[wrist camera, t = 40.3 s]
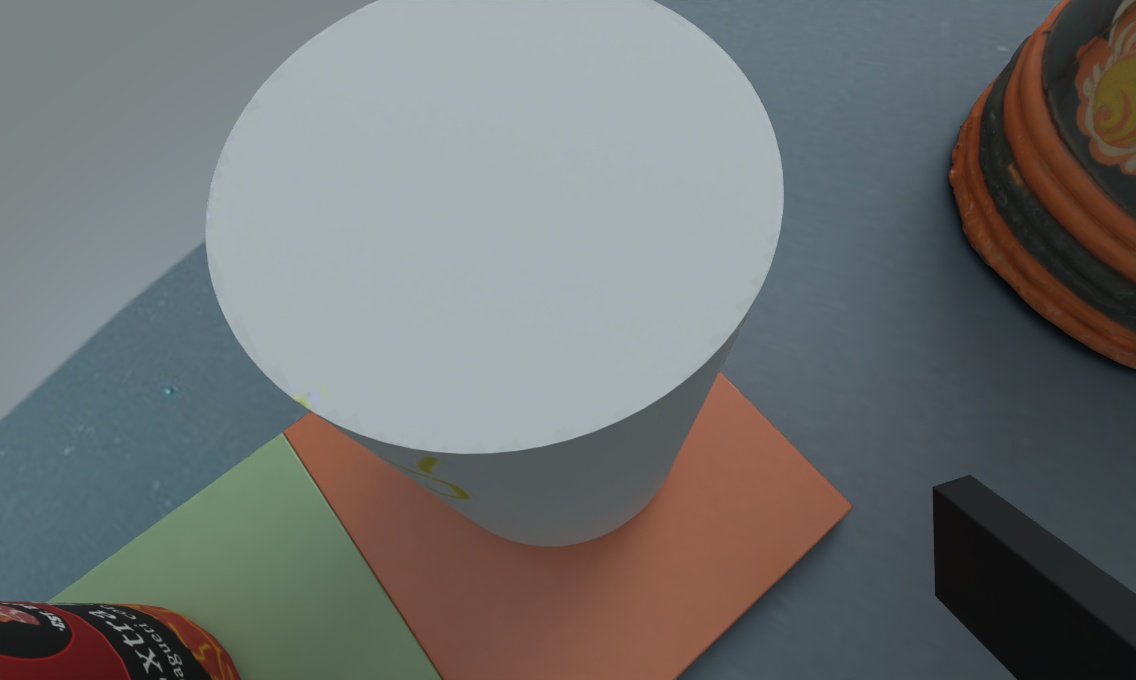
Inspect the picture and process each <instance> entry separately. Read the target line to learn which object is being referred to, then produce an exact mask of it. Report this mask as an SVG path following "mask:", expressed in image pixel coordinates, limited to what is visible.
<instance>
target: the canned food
mask: <svg viewBox="0 0 1136 680" xmlns="http://www.w3.org/2000/svg"><path fill="white" fill-rule="evenodd" d="M0 680H241V678H240V676H239V674H238V672H237V669H236V667H235V665H234V663H233V661H232V659H231V657H230V655H229V654H228V653H227V651H226V650H225V649H224V648H223V647H222V645H221V644H220V643H219V642H218V641H217V639H216V638H215V637H214V636H213V635H211V634H210V633H208V632H207V631H205V630H204V629H203V628H201V627H200V626H198V625H197V624H196V623H194V622H193V621H191V620H190V619H188V618H187V617H185V616H184V615H181V614H179V613H176V612H173V611H171V610H168V609H165V608H163V607H158V606H149V605H140V604H108V603H56V602H3V601H0Z"/></svg>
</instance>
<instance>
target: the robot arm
mask: <svg viewBox="0 0 1136 680" xmlns="http://www.w3.org/2000/svg"><path fill="white" fill-rule="evenodd" d="M933 522H934V563H935V596H936V597H937V598H938V599H939V600H940V601H941V602H942V603H943V604H944V605H945V606H946V607H947V608H948V609H949V610H950V611H951V612H952V613H953V614H954V615H955V616H956V617H957V618H958V620H959V621H960V622H961V623H962V624H963V625H964V626H965V627H966V628H967V629H968V630H969V631H970V632H971V633H972V634H973V635H974V636H975V637H976V638H977V639H978V640H979V641H980V642H981V643H982V644H983V645H984V646H985V647H986V648H987V649H988V650H989V651H990V652H991V653H992V654H993V655H994V656H995V657H996V658H997V659H998V660H999V661H1000V662H1001V663H1002V664H1003V665H1004V666H1005V668H1006V669H1007V670H1008V671H1009V672H1010V673H1011V674H1012V675H1013V676H1014V677H1015V678H1016V679H1017V680H1136V594H1135V593H1133V592H1132V591H1130V590H1129V589H1128V588H1126V587H1125V586H1123V585H1122V584H1121V583H1119V582H1118V581H1117V580H1115V579H1114V578H1112V577H1111V576H1110V575H1108V574H1107V573H1105V572H1104V571H1103V570H1101V569H1100V568H1098V567H1097V566H1096V565H1094V564H1093V563H1092V562H1090V561H1089V560H1087V559H1086V558H1085V557H1083V556H1082V555H1080V554H1079V553H1078V552H1076V551H1075V550H1073V549H1072V548H1071V547H1069V546H1068V545H1067V544H1065V543H1064V542H1062V541H1061V540H1060V539H1058V538H1057V537H1055V536H1054V535H1053V534H1051V533H1050V532H1049V531H1047V530H1046V529H1044V528H1043V527H1042V526H1040V525H1039V524H1037V523H1036V522H1035V521H1033V520H1032V519H1030V518H1029V517H1028V516H1026V515H1025V514H1024V513H1022V512H1021V511H1019V510H1018V509H1017V508H1015V507H1014V506H1012V505H1011V504H1010V503H1008V502H1007V501H1005V500H1004V499H1003V498H1001V497H1000V496H999V495H997V494H996V493H994V492H993V491H992V490H990V489H989V488H987V487H986V486H985V485H983V484H982V483H980V482H979V481H978V480H976V479H975V478H974V477H972V476H971V475H968V476H965V477H962V478H959V479H955V480H952V481H949V482H946V483H943V484H940V485H937V486H934V487H933Z"/></svg>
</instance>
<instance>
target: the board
mask: <svg viewBox="0 0 1136 680" xmlns="http://www.w3.org/2000/svg"><path fill="white" fill-rule="evenodd" d="M852 508H853V506H852V505H851V504H850V502H849V501H848V500H847V499H846V498H845V497H844V496H843V495H842V494H841V493H840V492H839V491H838V490H837V489H836V488H835V487H834V486H833V485H832V484H831V483H830V482H829V481H828V480H827V479H826V478H825V477H824V476H823V475H822V474H821V473H820V472H819V471H818V470H817V469H816V468H815V467H814V466H813V465H812V464H811V463H810V462H809V461H808V460H807V459H806V458H805V457H804V456H803V455H802V454H801V453H800V452H799V451H798V450H797V449H796V448H795V447H794V446H793V445H792V444H791V443H790V442H789V441H788V440H787V439H786V438H785V437H784V436H783V435H782V434H781V433H780V432H779V431H778V430H777V429H776V428H775V427H774V426H773V425H772V424H771V423H770V422H769V421H768V420H767V419H766V418H765V417H764V416H763V415H762V414H761V413H760V412H759V411H758V410H757V409H756V408H755V407H754V406H753V405H752V404H751V403H750V401H749V400H748V399H747V398H746V397H745V396H744V395H743V394H742V393H741V392H740V391H739V390H738V389H737V388H736V387H735V386H734V385H733V384H732V383H731V382H730V381H729V380H728V379H727V378H726V377H725V376H724V375H723V374H722V373H721V372H720V371H719V373H718V375H717V377H716V379H715V381H714V383H713V385H712V387H711V389H710V392H709V394H708V396H707V398H706V400H705V402H704V404H703V406H702V408H701V410H700V412H699V414H698V416H697V418H696V420H695V422H694V424H693V426H692V428H691V430H690V432H689V434H688V436H687V438H686V440H685V442H684V444H683V446H682V448H681V450H680V452H679V454H678V456H677V458H676V460H675V462H674V464H673V466H672V468H671V470H670V472H669V474H668V476H667V478H666V479H665V481H664V483H663V485H662V486H661V488H660V489H659V491H658V492H657V493H656V495H655V496H654V497H653V498H652V500H651V501H650V502H649V503H648V504H647V505H646V506H645V507H644V508H643V509H642V510H641V511H640V512H639V513H638V514H637V515H636V516H634V517H633V518H632V519H630V520H629V521H628V522H626V523H625V524H623V525H622V526H620V527H619V528H617V529H615V530H613V531H611V532H610V533H607V534H605V535H603V536H601V537H598V538H595V539H592V540H590V541H586V542H582V543H578V544H573V545H567V546H555V547H544V546H533V545H527V544H521V543H517V542H513V541H510V540H507V539H504V538H502V537H499V536H497V535H495V534H493V533H491V532H489V531H487V530H485V529H483V528H482V527H480V526H479V525H477V524H476V523H474V522H473V521H471V520H470V519H468V518H467V517H465V516H464V515H462V514H461V513H460V512H458V511H457V510H455V509H454V508H452V507H451V506H449V505H448V504H446V503H445V502H443V501H442V500H441V499H439V498H438V497H436V496H435V495H433V494H432V493H430V492H429V491H427V490H426V489H424V488H423V487H421V486H420V485H419V484H417V483H416V482H414V481H413V480H411V479H410V478H408V477H407V476H405V475H404V474H402V473H401V472H400V471H398V470H397V469H395V468H394V467H392V466H391V465H389V464H388V463H386V462H385V461H383V460H382V459H381V458H379V457H378V456H376V455H375V454H373V453H372V452H370V451H369V450H367V449H366V448H364V447H363V446H362V445H360V444H359V443H357V442H356V441H354V440H353V439H351V438H350V437H348V436H347V435H345V434H344V433H342V432H341V431H340V430H338V429H337V428H335V427H334V426H332V425H331V424H329V423H328V422H326V421H325V420H323V419H322V418H321V417H319V416H318V415H316V414H315V413H313V412H312V411H311V412H309V413H308V414H307V415H305V416H304V417H303V418H301V419H300V420H298V421H297V422H296V423H294V424H293V425H291V426H290V427H289V428H287V429H286V430H285V431H284V434H283V433H280V434H279V435H277V436H276V437H275V438H273V439H272V440H271V441H269V442H268V443H266V444H265V445H264V446H262V447H261V448H259V449H258V450H257V451H255V452H254V453H253V454H251V455H250V456H248V457H247V458H246V459H244V460H243V461H242V462H240V463H239V464H237V465H236V466H235V467H233V468H232V469H230V470H229V471H228V472H226V473H225V474H224V475H222V476H221V477H219V478H218V479H217V480H215V481H214V482H212V483H211V484H210V485H208V486H207V487H206V488H204V489H203V490H201V491H200V492H199V493H197V494H196V495H195V496H193V497H192V498H190V499H189V500H188V501H186V502H185V503H183V504H182V505H181V506H179V507H178V508H177V509H175V510H174V511H172V512H171V513H170V514H168V515H167V516H165V517H164V518H163V519H161V520H160V521H159V522H157V523H156V524H154V525H153V526H152V527H150V528H149V529H148V530H146V531H145V532H143V533H142V534H141V535H139V536H138V537H136V538H135V539H134V540H132V541H131V542H130V543H128V544H127V545H125V546H124V547H123V548H121V549H120V550H119V551H117V552H116V553H114V554H113V555H112V556H110V557H109V558H107V559H106V560H105V561H103V562H102V563H101V564H99V565H98V566H96V567H95V568H94V569H92V570H91V571H89V572H88V573H87V574H85V575H84V576H83V577H81V578H80V579H78V580H77V581H76V582H74V583H73V584H72V585H70V586H69V587H67V588H66V589H65V590H63V591H62V592H60V593H59V594H58V595H56V596H55V597H54V598H52V599H51V600H49V601H48V602H56V603H108V604H140V605H149V606H158V607H163V608H165V609H168V610H171V611H173V612H176V613H179V614H181V615H184V616H185V617H187V618H188V619H190V620H191V621H193V622H194V623H196V624H197V625H198V626H200V627H201V628H203V629H204V630H205V631H207V632H208V633H210V634H211V635H213V636H214V637H215V638H216V639H217V641H218V642H219V643H220V644H221V645H222V647H223V648H224V649H225V650H226V651H227V653H228V654H229V655H230V657H231V659H232V661H233V663H234V665H235V667H236V669H237V672H238V674H239V676H240V678H241V680H675V679H676V678H677V677H679V676H680V675H681V674H682V673H683V672H684V671H685V670H686V669H687V668H688V667H689V666H690V665H691V664H692V663H693V662H694V661H695V660H696V659H697V658H698V657H699V656H700V655H701V654H702V653H703V652H704V651H705V650H707V649H708V648H709V647H710V646H711V645H712V644H713V643H714V642H715V641H716V640H717V639H718V638H719V637H720V636H721V635H722V634H723V633H724V632H725V631H726V630H727V629H728V628H729V627H730V626H731V625H732V624H733V623H735V622H736V621H737V620H738V619H739V618H740V617H741V616H742V615H743V614H744V613H745V612H746V611H747V610H748V609H749V608H750V607H751V606H752V605H753V604H754V603H755V602H756V601H757V600H758V599H759V598H760V597H762V596H763V595H764V594H765V593H766V592H767V591H768V590H769V589H770V588H771V587H772V586H773V585H774V584H775V583H776V582H777V581H778V580H779V579H780V578H781V577H782V576H783V575H784V574H785V573H786V572H787V571H788V570H790V569H791V568H792V567H793V566H794V565H795V564H796V563H797V562H798V561H799V560H800V559H801V558H802V557H803V556H804V555H805V554H806V553H807V552H808V551H809V550H810V549H811V548H812V547H813V546H814V545H815V544H817V543H818V542H819V541H820V540H821V539H822V538H823V537H824V536H825V535H826V534H827V533H828V532H829V531H830V530H831V529H832V528H833V527H834V526H835V525H836V524H837V523H838V522H839V521H840V520H841V519H842V518H843V517H845V516H846V515H847V514H848V513H849V512H850V511H851V510H852Z"/></svg>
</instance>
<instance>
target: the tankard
mask: <svg viewBox="0 0 1136 680" xmlns="http://www.w3.org/2000/svg"><path fill="white" fill-rule="evenodd" d="M960 128H961V131H960V133H959V139H958V142H957V144H956V147H955V148H954V150H953V153H952V159H953V160H952V162H951V163H954V165H953V167H952V168H951V171H949V174H948V175H949V181H950V183H951V186H952V187H953V188H954V191H953V193H954V194H955V201H956V206H957V210H958V212H959V214H960V216H961V219H962V228H963V230H964V233H965V235H966V237H967V238H968V240H969V243H970V245H971V247H972V248H973V249H974V250H975V252H977V253H978V254H979V255H980V256H981V258H982V259H983V261H984V262H985V263H986V264H987V265H988V266H989V265H990V266H991V267H992V268H993V269H994V270H995V271H996V272H997V273H998V274H999V275H1000V276H1001V277H1002V278H1003V279H1004V280H1005V281H1006V282H1007V283H1008V284H1009V285H1010V286H1011V287H1012V288H1013V289H1014V290H1015V291H1016V292H1017V293H1018V295H1019V296H1020V297H1021V298H1022V300H1024V301H1025V302H1026V303H1027V304H1028V305H1029V306H1031V307H1032V308H1033V309H1034V310H1035V311H1036V312H1037V313H1039V314H1040V315H1041V316H1043V317H1044V318H1046V319H1047V320H1049V321H1050V322H1052V323H1053V324H1055V325H1056V326H1058V327H1059V328H1060V329H1061V330H1063V331H1064V332H1065V333H1067V334H1068V335H1070V336H1071V337H1073V338H1075V339H1076V340H1078V341H1080V342H1082V343H1083V344H1084V345H1086V346H1087V347H1089V348H1090V349H1092V350H1094V351H1096V352H1098V353H1100V354H1102V355H1104V356H1106V357H1108V358H1110V359H1112V360H1114V361H1115V362H1117V363H1120V364H1122V365H1124V366H1127V367H1129V368H1132V369H1135V370H1136V0H1063V1H1062V2H1060V3H1059V4H1058V5H1057V6H1056V7H1055V9H1054V10H1053V11H1052V12H1051V13H1050V15H1049V16H1048V17H1047V18H1046V20H1045V21H1044V22H1043V24H1042V25H1041V26H1039V27H1038V28H1037V29H1036V30H1035V31H1034V32H1033V34H1032V35H1030V36H1029V37H1027V38H1026V39H1025V40H1024V41H1023V43H1022V44H1021V45H1020V46H1019V48H1018V49H1017V50H1016V52H1015V53H1014V55H1013V56H1012V58H1011V61H1010V62H1009V63H1008V65H1007V66H1006V67H1005V68H1004V69H1003V71H1002V72H1001V73H1000V74H999V75H998V76H997V77H996V79H995V80H994V81H993V82H992V83H991V84H990V85H989V87H988V88H987V89H986V90H985V91H984V92H983V94H982V95H981V96H980V97H979V99H978V100H977V101H976V103H975V104H974V106H973V108H972V109H971V112H970V115H969V117H968V119H967V120H966V122H965V123H964V125H963V126H960Z"/></svg>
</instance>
